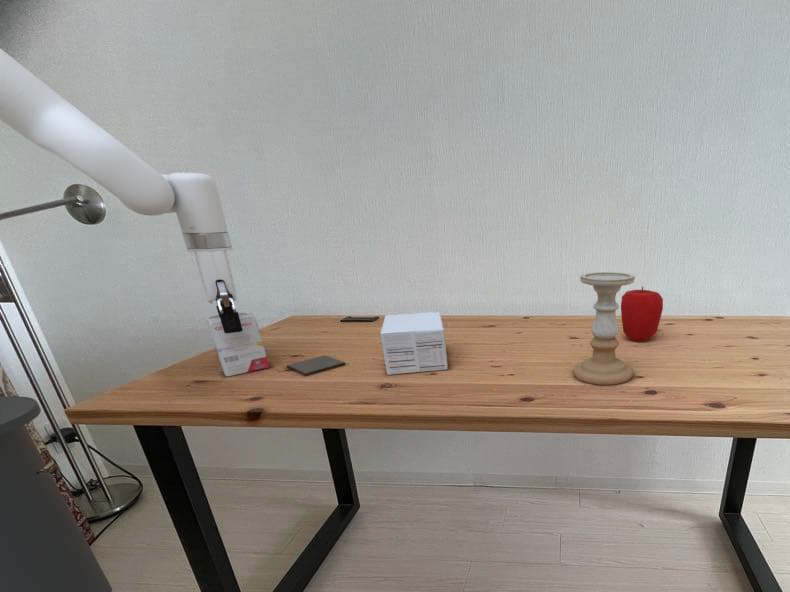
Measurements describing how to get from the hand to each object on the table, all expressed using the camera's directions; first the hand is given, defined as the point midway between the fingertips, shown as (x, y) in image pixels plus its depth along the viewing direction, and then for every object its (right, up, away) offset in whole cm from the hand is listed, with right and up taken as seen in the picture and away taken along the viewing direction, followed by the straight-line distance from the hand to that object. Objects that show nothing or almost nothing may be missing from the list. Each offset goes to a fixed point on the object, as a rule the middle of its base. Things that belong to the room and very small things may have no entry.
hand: (231, 327), depth 97 cm
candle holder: (+79, -10, -2) cm, 80 cm away
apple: (+92, +1, +23) cm, 95 cm away
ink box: (0, -9, +4) cm, 10 cm away
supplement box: (+37, -6, +9) cm, 39 cm away
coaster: (+15, -8, +6) cm, 18 cm away
